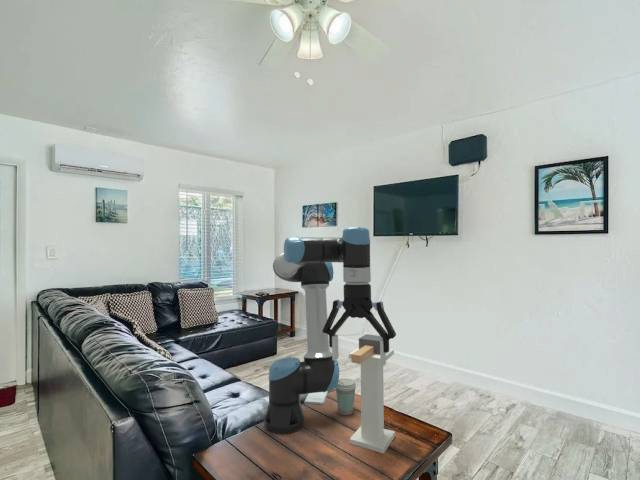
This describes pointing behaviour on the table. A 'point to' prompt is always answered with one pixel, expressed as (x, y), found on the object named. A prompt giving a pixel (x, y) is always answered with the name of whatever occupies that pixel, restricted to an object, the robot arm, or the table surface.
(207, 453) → the table surface
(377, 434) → the tall stand
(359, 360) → the hammer
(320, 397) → the external hard drive
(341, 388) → the coffee cup
